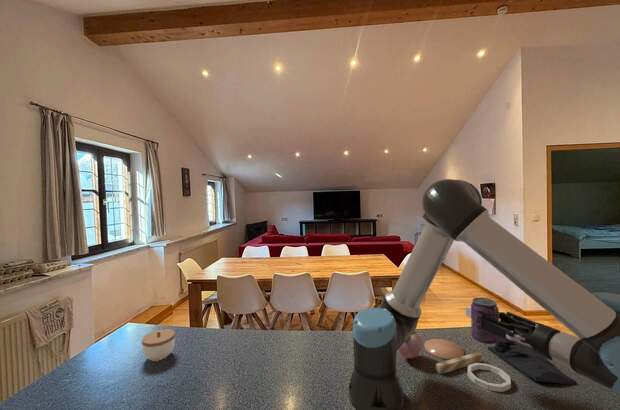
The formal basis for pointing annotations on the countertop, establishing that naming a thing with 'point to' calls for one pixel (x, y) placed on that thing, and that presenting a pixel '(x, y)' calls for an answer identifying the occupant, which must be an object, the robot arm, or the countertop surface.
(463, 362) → the wooden bar
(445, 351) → the coaster
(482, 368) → the ring
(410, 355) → the decorative fruit
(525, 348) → the dark slate chunk
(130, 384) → the countertop surface
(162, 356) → the lidded jar
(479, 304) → the beverage can
